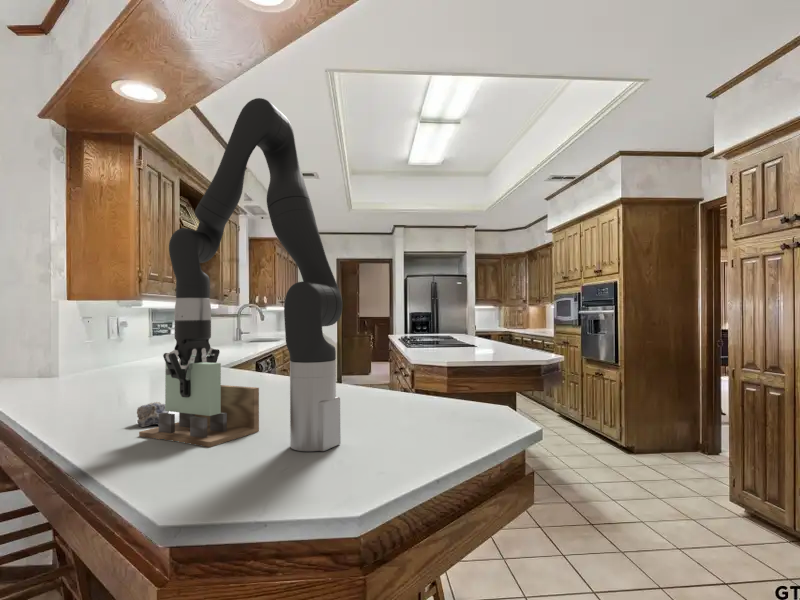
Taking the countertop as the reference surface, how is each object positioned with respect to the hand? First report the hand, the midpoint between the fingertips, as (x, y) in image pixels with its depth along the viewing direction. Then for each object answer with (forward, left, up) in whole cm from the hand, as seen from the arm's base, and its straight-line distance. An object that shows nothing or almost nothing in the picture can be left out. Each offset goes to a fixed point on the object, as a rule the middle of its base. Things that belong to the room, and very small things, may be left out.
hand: (192, 395), depth 104 cm
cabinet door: (0, 0, -4) cm, 4 cm away
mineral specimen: (+20, -6, -9) cm, 23 cm away
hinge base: (0, -2, -9) cm, 9 cm away
